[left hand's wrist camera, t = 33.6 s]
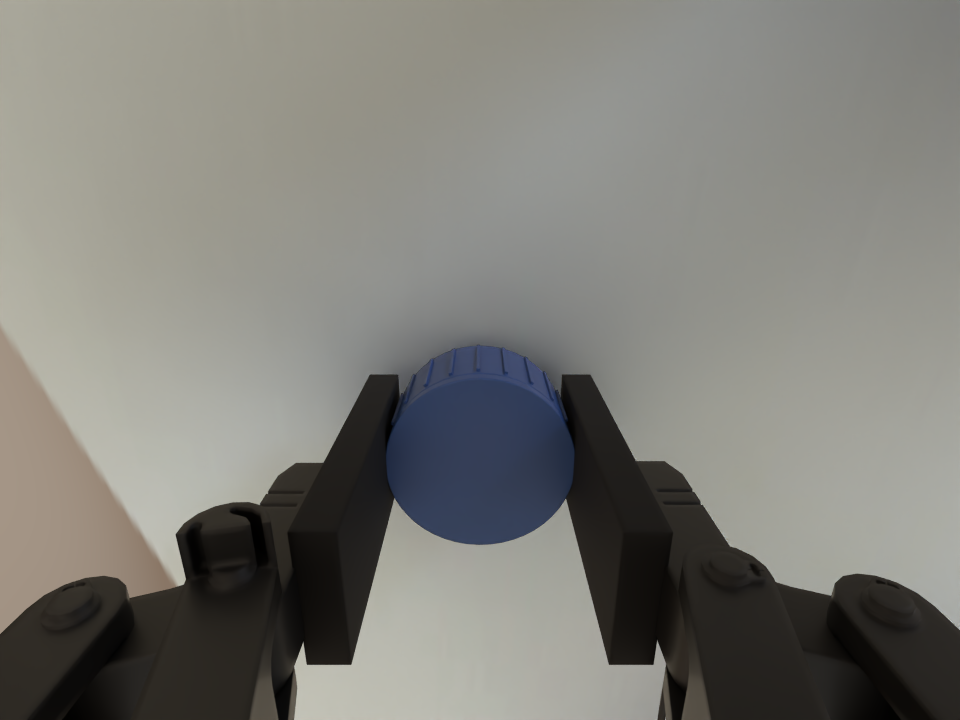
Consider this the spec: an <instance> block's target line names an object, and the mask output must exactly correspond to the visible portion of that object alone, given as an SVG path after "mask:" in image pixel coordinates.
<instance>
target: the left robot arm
mask: <svg viewBox="0 0 960 720" xmlns="http://www.w3.org/2000/svg"><path fill="white" fill-rule="evenodd" d="M399 399H400V397H399V379H398V375H370V376H369V378H368V380H367V381H366V383H365V385H364V387H363V389H362V391H361V393H360V395H359V397H358V399H357V400H356V402H355V404H354V406H353V408H352V410H351V412H350V414H349V416H348V418H347V419H346V421H345V423H344V425H343V427H342V429H341V431H340V433H339V435H338V437H337V438H336V440H335V442H334V444H333V446H332V448H331V450H330V452H329V454H328V456H327V457H326V459H325V461H324V463H295V464H294V465H293V466H291V467H290V468H288V469H287V470H286V471H284V472H283V473H282V474H280V475H279V476H278V477H277V478H276V480H275V482H274V483H273V485H272V486H271V488H270V489H269V491H268V494H266V495H265V497H264V498H263V500H262V502H261V503H260V505H257V504H254V503H250V502H236V503H229V504H224V505H220V506H215V507H213V508H210V509H208V510H206V511H203V512H201V513H199V514H197V515H196V516H194V517H193V518H191V519H190V520H188V521H187V522H186V523H184V524H183V526H182V527H181V528H180V529H179V531H178V532H177V533H176V538H177V542H178V547H179V551H180V555H181V559H182V564H183V568H184V572H185V576H186V581H185V584H184V585H181V586H178V587H175V588H171V589H168V590H163V591H159V592H155V593H150V594H146V595H142V596H137V597H132V598H129V594H128V591H127V587H126V585H125V584H124V583H123V582H121V581H120V580H119V579H118V578H113V577H107V576H99V577H90V578H84V579H81V580H78V581H75V582H71V583H69V584H66V585H63V586H61V587H59V588H58V589H56V590H54V591H52V592H50V593H48V594H46V595H44V596H43V597H42V598H40V599H39V600H38V601H36V602H35V603H34V604H32V605H31V606H30V607H29V608H27V609H26V610H25V611H24V612H23V613H22V614H21V615H20V616H19V617H18V618H17V619H16V620H15V621H13V622H12V623H11V624H10V625H9V626H8V627H7V628H6V629H5V630H4V631H3V632H2V633H1V634H0V720H294V714H295V705H296V695H297V682H296V675H295V669H294V665H295V663H296V660H297V657H298V655H299V652H300V649H301V646H302V644H303V642H304V649H305V655H306V662H307V665H351V664H352V660H353V656H354V652H355V648H356V644H357V641H358V637H359V633H360V629H361V625H362V621H363V617H364V613H365V610H366V606H367V602H368V598H369V594H370V590H371V586H372V582H373V578H374V575H375V571H376V567H377V563H378V559H379V555H380V551H381V547H382V544H383V540H384V536H385V532H386V528H387V524H388V520H389V516H390V513H391V509H392V505H393V501H394V496H393V493H392V491H391V489H390V487H389V483H388V479H387V465H386V447H387V442H388V439H389V436H390V433H391V430H392V427H393V425H391V422H392V419H393V416H394V413H395V410H396V407H397V404H398V402H399ZM561 400H562V403H563V406H564V409H565V412H566V415H567V418H568V422H567V425H568V428H569V430H570V433H571V437H572V440H573V443H574V448H575V455H574V470H573V482H572V485H571V488H570V491H569V493H568V495H567V497H566V500H567V504H568V507H569V511H570V515H571V519H572V523H573V527H574V531H575V535H576V538H577V542H578V546H579V550H580V554H581V558H582V562H583V566H584V569H585V573H586V577H587V581H588V585H589V589H590V593H591V597H592V600H593V604H594V608H595V612H596V616H597V620H598V624H599V628H600V631H601V635H602V639H603V643H604V647H605V651H606V655H607V659H608V662H609V665H653V664H654V658H655V651H656V644H657V640H658V643H659V646H660V648H661V651H662V654H663V656H664V659H665V662H666V669H665V675H664V681H663V688H662V694H661V700H660V706H659V713H658V720H665V717H666V720H960V630H959V629H958V628H957V627H956V626H955V625H954V624H953V623H952V622H950V621H949V620H948V619H947V618H946V617H945V616H944V615H943V614H942V613H941V612H940V611H939V610H938V609H937V608H936V607H935V606H933V605H932V604H931V603H929V602H928V601H927V600H925V599H924V598H923V597H922V596H920V595H919V594H918V593H916V592H914V591H912V590H910V589H908V588H906V587H904V586H902V585H900V584H898V583H896V582H893V581H891V580H887V579H885V578H881V577H878V576H873V575H864V574H852V575H847V576H843V577H842V578H840V579H839V580H838V581H837V582H836V583H835V585H834V589H833V592H832V596H829V595H825V594H820V593H816V592H811V591H807V590H803V589H798V588H794V587H790V586H787V585H783V584H780V583H777V582H775V580H774V578H773V577H772V575H771V574H770V572H769V571H768V569H767V568H766V566H764V565H763V564H762V563H761V562H759V561H758V560H757V559H756V558H754V557H753V556H751V555H749V554H747V553H745V552H743V551H741V550H739V549H737V548H733V547H730V546H729V544H728V543H727V541H726V540H725V538H724V537H723V535H722V534H721V532H720V531H719V529H718V528H717V526H716V525H715V523H714V522H713V520H712V519H711V517H710V515H709V514H708V512H707V511H706V509H705V508H704V506H703V505H701V503H700V500H699V499H698V497H697V496H696V494H695V493H694V492H692V488H691V486H690V485H689V483H688V482H687V480H686V479H685V477H684V476H683V474H681V473H680V472H679V471H677V470H676V469H675V468H673V467H672V466H670V465H669V464H668V463H666V462H665V461H635V459H634V457H633V455H632V453H631V451H630V449H629V447H628V445H627V443H626V442H625V440H624V438H623V436H622V434H621V432H620V430H619V428H618V426H617V424H616V423H615V421H614V419H613V417H612V415H611V413H610V411H609V409H608V407H607V405H606V404H605V402H604V400H603V398H602V396H601V394H600V392H599V390H598V388H597V387H596V385H595V383H594V381H593V379H592V377H591V375H562V385H561Z"/></svg>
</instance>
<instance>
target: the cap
mask: <svg viewBox="0 0 960 720" xmlns="http://www.w3.org/2000/svg"><path fill="white" fill-rule="evenodd" d="M567 422H568V418H567V415H566V412H565V409H564V406H563V403H562V400H561V398H560V395H559V392H558V390H556V391H555V389H554V387H553V385H552V384H551V382H550V380H549V379H548V377H547V374H546V372H545V371H544V372H542V371H541V370H540V369H539V368H538V367H537V366H536V365H535V364H533V363H532V362H531V361H529V360H528V358H527V357H525V358H524V357H523V356H520V355H518V354H516V353H514V352H511V351H508V350H506V349H505V348H497V347H490V346H480V345H477V346H470V347H464V348H459V349H452V351H449V352H447V353H444V354H442V355H440V356H438V357H436V358H435V359H430V361H429V363H427V364H426V365H425V366H424V367H423V368H421V369H420V370H419V371H418V373H417V374H416V375H415V374H413V375H412V378H411V381H410V383H409V384H408V386H407V388H406V390H405V392H404V394H403V393H401V396H400V399H399V402H398V404H397V407H396V410H395V413H394V416H393V419H392V422H391V425H393V427H392V430H391V433H390V436H389V439H388V442H387V447H386V465H387V479H388V483H389V487H390V489H391V491H392V493H393V496H394V497H395V499H396V501H397V502H398V504H399V505H400V507H401V508H402V509H403V510H404V512H405V513H406V514H407V515H408V516H409V517H410V518H411V519H412V520H413V521H414V522H416V523H417V524H418V525H420V526H421V527H422V528H424V529H426V530H427V531H429V532H431V533H433V534H435V535H437V536H439V537H442V538H444V539H447V540H451V541H454V542H459V543H465V544H475V545H485V544H496V543H502V542H506V541H510V540H514V539H516V538H519V537H521V536H524V535H526V534H528V533H530V532H532V531H534V530H535V529H537V528H538V527H540V526H541V525H542V524H544V523H545V522H546V521H547V520H548V519H550V518H551V517H552V516H553V515H554V514H555V512H556V511H557V510H558V509H559V508H560V506H561V505H562V503H563V502H564V500H565V499H566V497H567V495H568V493H569V491H570V488H571V485H572V482H573V470H574V455H575V448H574V443H573V440H572V437H571V433H570V430H569V428H568V425H567Z"/></svg>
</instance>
